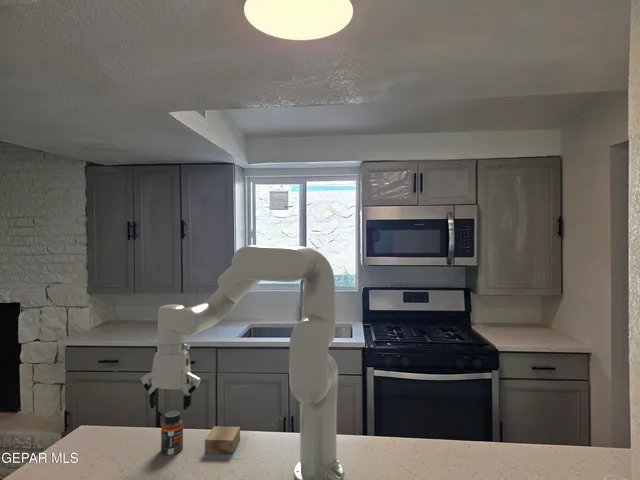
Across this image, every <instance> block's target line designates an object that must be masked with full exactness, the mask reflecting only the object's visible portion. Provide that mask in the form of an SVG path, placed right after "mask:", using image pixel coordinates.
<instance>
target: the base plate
mask: <svg viewBox="0 0 640 480" xmlns="http://www.w3.org/2000/svg"><path fill="white" fill-rule="evenodd" d="M248 439H249V437H248V436H240V441H239V443H238V445H237V447H236V449H235V451H234V453H233V455H229V454H205V443H204V444H203V445H202V447H201V448H200V450H199V451H198V453H197V454H196V456H195V458H198V459H226V460H227V459H228V460H233V459H234V460H238V459H239V457H240V456H241V453H242V451H243V449H244V447H245V446H246V443H247V441H248Z"/></svg>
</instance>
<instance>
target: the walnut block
mask: <svg viewBox="0 0 640 480" xmlns="http://www.w3.org/2000/svg"><path fill="white" fill-rule="evenodd" d="M240 437H241V427H240V426H215V425H214V426H213V427H212V428H211V430H210V432H209V433H208V434H207V436H206V437H205V439H204V444H205V454H229V455H233V453H234V451H235V449H236V447H237V445H238V443H239V441H240Z"/></svg>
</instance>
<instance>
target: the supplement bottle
mask: <svg viewBox="0 0 640 480" xmlns="http://www.w3.org/2000/svg"><path fill="white" fill-rule="evenodd" d="M180 416H181V415H180V412H179V411H177V410H173V411H169V412H166V413H165V414H164V421H162V423H161V425H160V426H161V429H160V440H161V441H160V452H161V454H162V455H164V456H173V455H177V454H179V453H181V452H182V451H183V449H184V422H183V419H182V418H180Z"/></svg>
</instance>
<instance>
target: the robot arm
mask: <svg viewBox="0 0 640 480" xmlns="http://www.w3.org/2000/svg"><path fill="white" fill-rule="evenodd" d="M300 280H302V281H303V291H302V317H301V320H299V321H298V322H297V323H296V325H294V327H293V329H292V330H291V334H290V337H289V376H288V377H289V387H290V391H291V393H292V395H293V396H294V398H295V399H296V400H297V401H298V402H300V407H299V408H300V411H299V412H300V414H299V426H300V427H299V432H300V433H299V435H300V436H299V441H300V442H299V443H300V444H299V445H300V449H299V450H300V451H299V452H300V454H299V457H300V460H299V462H298V463H297V464H296V465H295V467H294V472H293V473H294V478H295V479H296V480H342V479H344V478H345V476H346V475H345V472H344V471H343V467H342V465H341V464H340V460H338V459H337V458H338V457H337V449H338V448H337V446H338V445H337V444H338V443H337V413H338V412H337V405H338V403H337V402H338V401H337V400H338V399H337V398H338V383H339V382H338V381H339V368H338V364H337V362H336V360H335V359H334V357H333V356H332V355H331V354H330V353H329V347H330V346H331V344H333V342H334V340H335V338H336V299H335V298H336V294H335V293H336V287H335V286H336V285H335V284H336V283H335V275H334V271H333V268H332V266H331V264H330V262H329V261H328V259H327V258H326V256H324V255H323V254H322V253H320V252H319V251H317V250H316V249H314V248H311V247H309V246H291V247H284V246H283V247H281V246H280V247H278V246H277V247H273V246H271V247H270V246H266V245H261V244H253V245H252V244H251V245H245V246H241V247H240V248H238V249H237V250H236V251H235V252H234V254H233V256H232V259H231V265H230V266H229V267H228V268H227V269H226V270H225V271H224V272H223V273H221V274H220V275H219V276H218V279H217V284H218V288H217V290H215V292H214V293H213V294H212V295H211V296H210V297H209V298H207V299H206V300H205V301H203V302H202V303H200V304H196V305H193V306H190V307H185V306H184V305H182V304H179V303H178V304H177V303H175V304H174V303H172V304H165V305H162V306H160V307H159V308H158V311H157V312H158V313H157V349H156V350H157V351H156V352H155V354H154V357H153V362H152V368H151V371H150V372H149V373H147V374H145V375H143V376H141V377H140V381H141V382H142V385H143V388H144V389H145V390H146V391H147V394H149V404H150V407H149V408H150V409H154V408H155V407H156V406H157V405H158V404H159V391H158V390H157V389H167V390H181V391H182V392H183V393H184V395H183V406H182V407H183V410H184V411H186V410H187V409H188V408H189V407H190V406H191V405H192V394H193V392H194V391H196V389H197V388H198V386H199V385H200V382H201V380H202V379H201V378H200V377H198V376H197V375H195V374H193V373H192V371H191V360H190V355H189V351H187V350H190V348H191V345H190V344H187V341H186V336H193V335H196V334H198V333H200V332H202V331H205V330H207V329H210V328H212V327H214V326H216V325H217V324H218V323H219V322H220V321H221V320H223V319H224V318H225V317H226V316H227V315H228V314H229V313H231V311H232V310H233V309H234V308H235V307H236V305H237V304H238V303H239V302H240V301H241V299H242V298H243V297H244V296H246V295H247V293H249V292H250V291H251V290H252V289H253V288H254V287H255V286H257V285H258V284H259V283H261V281H262V282H263V281H264V282H265V281H267V282H281V283H291V282H292V283H293V282H297V281H300ZM149 379H151V381H150V380H149ZM149 381H150V382H149ZM191 382H192V383H193V384H192V386H191V384H190V383H191Z"/></svg>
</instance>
